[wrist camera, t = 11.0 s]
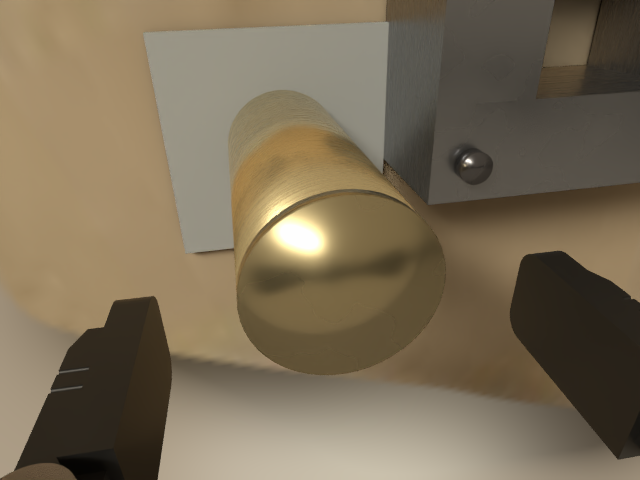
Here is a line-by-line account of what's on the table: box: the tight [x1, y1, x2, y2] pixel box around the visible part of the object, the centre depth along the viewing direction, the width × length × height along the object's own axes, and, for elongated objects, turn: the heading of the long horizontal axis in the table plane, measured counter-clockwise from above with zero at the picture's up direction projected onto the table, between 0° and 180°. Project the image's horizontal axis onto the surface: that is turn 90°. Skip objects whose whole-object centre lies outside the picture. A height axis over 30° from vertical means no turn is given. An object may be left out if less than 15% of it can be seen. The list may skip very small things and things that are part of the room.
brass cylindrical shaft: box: [228, 90, 446, 375], centre depth 16 cm, size 5×5×12 cm
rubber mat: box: [143, 22, 389, 254], centre depth 21 cm, size 10×10×1 cm
